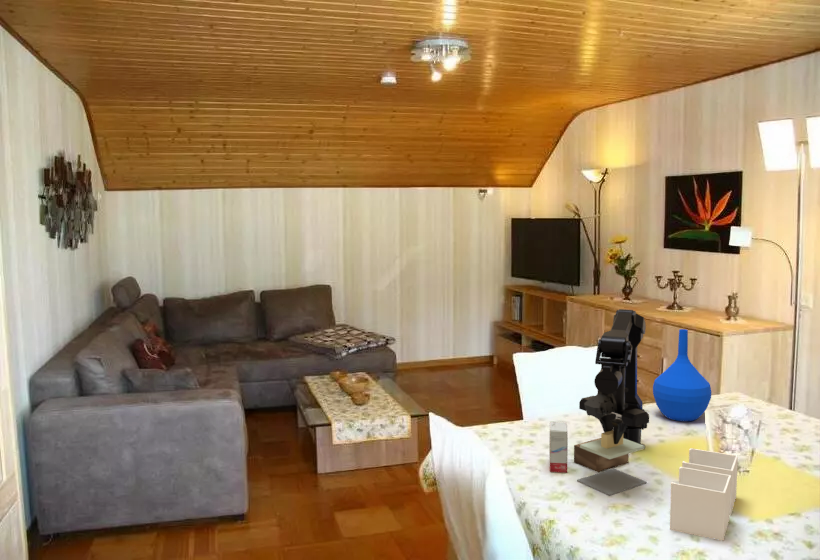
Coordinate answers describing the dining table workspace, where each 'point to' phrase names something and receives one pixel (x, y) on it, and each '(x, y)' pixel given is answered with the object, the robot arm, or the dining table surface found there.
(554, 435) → the ink box
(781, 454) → the dining table surface
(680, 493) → the storage container
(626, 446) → the lid
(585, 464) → the box
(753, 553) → the dining table surface
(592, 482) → the mat
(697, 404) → the vase
